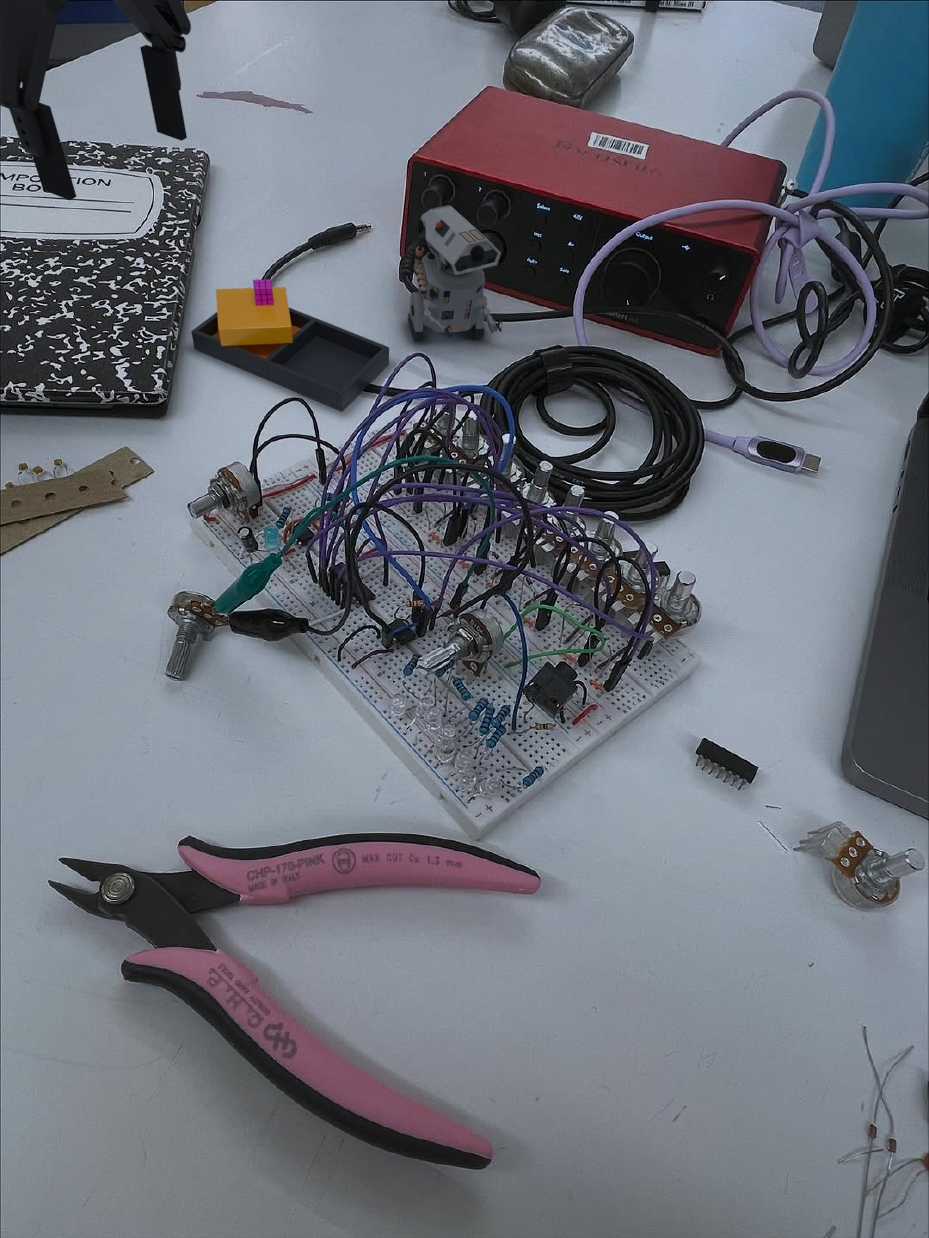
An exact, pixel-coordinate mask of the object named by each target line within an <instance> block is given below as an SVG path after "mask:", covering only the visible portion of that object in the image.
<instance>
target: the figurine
mask: <svg viewBox="0 0 929 1238" xmlns="http://www.w3.org/2000/svg"><path fill="white" fill-rule="evenodd" d="M420 221H421V222H422V224H423V226H424V228H425V241H426V244H427V246H426V245H425V244H421V245H419V246H417V247H416V248H415V253H414V265H413V270H412V271H413V272H412V273H413V274H414V275H415V277H416V278H417V279H416V281H417V283H418V291H413V292H411V296H410V301H409V302H410V303H409V313H408V315H407V322H408V325H409V328H410V331H411V334H412V338H413V340H414V341H415V342H418V341H419V342H420V341H425V329H424V326H426V327H428V328H429V329H431V330H432V331H433V332H435V333H446V334H447V336H448V338H452V337H453V336H454V335H455V334H451V333H460V332H467V331H470V329H471V333H472V335H473V338H474V339H481V338H482V339H483V338H484V337H485V327H484V325H485V322H486V324H487V327H488V331H489V332H490V333H491V334H494V333H495V332H497V331H499V332H500V333H502V330H503V329H502V327H501V325H503V321H502V318H499V320H498V322H496V320H495V319H493V317H492V314H491V309H490V308H489V307H488V298H487V296H486V295H485V291H484V288H485V283H486V277H485V276H486V275H485V272H484V270H483V269H487V268H492V267H495V266H498V263H499V260H500V257H501V254H502V252H501V251H500V250H499V249H498V248H497V247H496V246H495V245H494V243H495V240H494V238H493V237H492V236H490V235H489V234H488V233H486V232H484V233H481V231H480V230H478V229H477V228H476V227H475V226H474V225H473V224H471V223H470V222H469V221H468V220H467V219H466V218H465V217H464V216H463V215H461V214H460V212H458V211H457V210H456V209H455V208H454V207H453V206H452V205H451V204H448V205H443V206H438V207H434V208H430V209H428V211H426V212H425V213H422V215H421V216H420ZM424 248H425V249H426V250H427V253H426V254H425V255H424V252H425V249H424Z"/></svg>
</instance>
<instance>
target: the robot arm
mask: <svg viewBox="0 0 929 1238" xmlns="http://www.w3.org/2000/svg"><path fill="white" fill-rule="evenodd" d="M113 2H114V3H115V4H116V5H117V7H118V8H119V9H120V11H122V13H123V14H124V15H125V16H126V17H127V18H128V19H129V21H130V22H131V23H132V24H133V25H134V27H135V28H136V29H137V30H138V31H139V32H140V33H141V35H142V36H143V37H144V38H145V40H146V41H147V42H148V43H150V44H151V45H149V44H145V45H142V46H140V47H139V49H140V53H141V58H142V64H143V68H144V69H143V70H144V74H145V78H146V83H147V88H148V89H147V90H148V93H149V99H150V103H151V108H152V114H153V119H154V124H155V129H156V132H157V133H158V134H161V135H164V136H167V137H169V138H172V139H175V140H178V141H184V140H186V139H188V135H187V130H186V125H185V118H184V112H183V107H182V100H181V95H180V91H181V90H182V80H181V75H180V69H179V63H178V56H177V52H178V53H180V54H181V53H184V52H185V50H186V46H187V41H186V38H185V36H188V35H190V33H191V30H192V24H191V20H190V19H189V16H188V14H187V11H186V10H185V8H184V6H183V4H182V1H181V0H113ZM67 4H68V0H0V107H2V108H6V109H8V111H9V112H10V116H11V118H12V122H13V124H14V127H15V130H16V133H17V136H18V139H19V143H20V145H21V148H22V149H23V151H24V152H26V153H28V154H31V157H32V160H33V163H34V167H35V169H36V172H37V175H38V179H39V181H40V184H41V187H42V190H43V191H44V192H47V193H50V194H52V195H55V196H56V197H57V196H58V197H60V198H62V199H65V200H67V201H71V200H73V199H75V198H77V193H76V190H75V186H74V182H73V179H72V176H71V173H70V170H69V166H68V162H67V159H66V155H65V153H64V149H63V146H62V145H63V144H62V142H61V139H60V135H59V131H58V128H57V125H56V121H55V118H54V114H53V112H52V107H51V106H50V105H48V104H45V103H42V102H40V100H41V96H42V92H43V87H44V82H45V78H46V74H47V69H48V64H49V60H50V55H51V50H52V46H53V42H54V37H55V33H56V28H57V23H58V19H59V15H60V14H61V13H62V12H64V11H66V8H67ZM183 35H185V36H183Z"/></svg>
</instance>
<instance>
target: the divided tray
mask: <svg viewBox="0 0 929 1238" xmlns="http://www.w3.org/2000/svg"><path fill="white" fill-rule="evenodd" d="M289 313H290V320H291V327H292V338H293V343H281V344H258V345H235V346H221V342H220V336H219V331H218V315H217V311H216V312H215V313H214V314H212V315H210V317H208V318H206V320H204V321H203V322H201V323H200V324H199V325H198V326H196V327H195V328H194V329H192V330H191V331H190V333H191V337H192V342H193V346H194V347H193V348H194V350H195V351H198V352H200V353H203V354H205V355H208V356H210V357H212V358H214V359H217V360H219V361H222V362H223V363H226V364H228V365H230V366H231V365H232V366H233V367H236V368H239V369H241V370H243V371H245V372H248V373H250V374H252V375H255V376H257V377H259V378H262V379H264V380H266V381H269V382H271V383H274V384H276V385H279V386H281V387H283V388H285V389H288V390H290V391H292V392H295V393H297V394H300V395H301V396H304V397H306V398H308V399H311V400H313V401H317V402H319V403H321V404H323V405H325V406H328V407H330V408H333V409H335V410H337V411H340V412H343V411H345V410H346V408H348V407H349V405H350V404H351V403H352V402H354V400H355V399H357V397H358V396H359V395H361V393H362V392H363V391H364V390H365V389H366V388H367V387H368V386H369V385H370V384H371V383H372V382H374V380H376V378H377V377H379V375H380V374H381V373H383V371H384V370H385V369H386V368H387V367H388V366H389V365H390V346H388V345H385V344H383V343H380V342H377V341H375V340H372V339H369V338H367V337H365V336H363V335H359V334H357V333H354V332H352V331H350V330H347V329H345V328H342V327H340V326H337V325H334V324H333V323H329V322H327V321H325V320H322V319H319V318H317V317H314V316H312V315H309V314H307V313H304V312H302V311H299V310H297V309H294V308H292V307H289Z"/></svg>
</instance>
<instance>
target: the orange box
mask: <svg viewBox="0 0 929 1238" xmlns="http://www.w3.org/2000/svg"><path fill="white" fill-rule="evenodd" d="M252 284H253V287H244V288H243V287H242V288H241V287H240V288H237V287H236V288H216V290H215V294H216V295H215V296H216V312H217V315H218V331H219V336H220V342H221V346H235V345H258V344H281V343H293V338H292V327H291V320H290V313H289V308H290V305H289V299H288V293H287V288H286V286H278V287H277V286H276V287H274V286H273V284H272V279H271V278H270V279H268V278H267V279H252ZM272 286H273V287H272Z"/></svg>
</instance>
